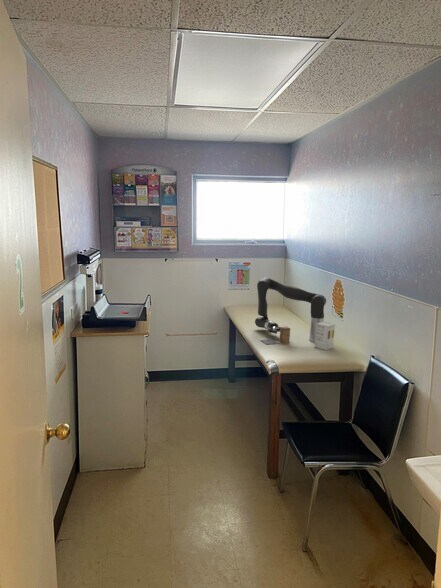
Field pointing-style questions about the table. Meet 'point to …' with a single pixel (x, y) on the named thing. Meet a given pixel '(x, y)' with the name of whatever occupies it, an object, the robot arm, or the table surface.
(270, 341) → the mat
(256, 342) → the table surface
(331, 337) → the supplement box
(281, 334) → the walnut block
